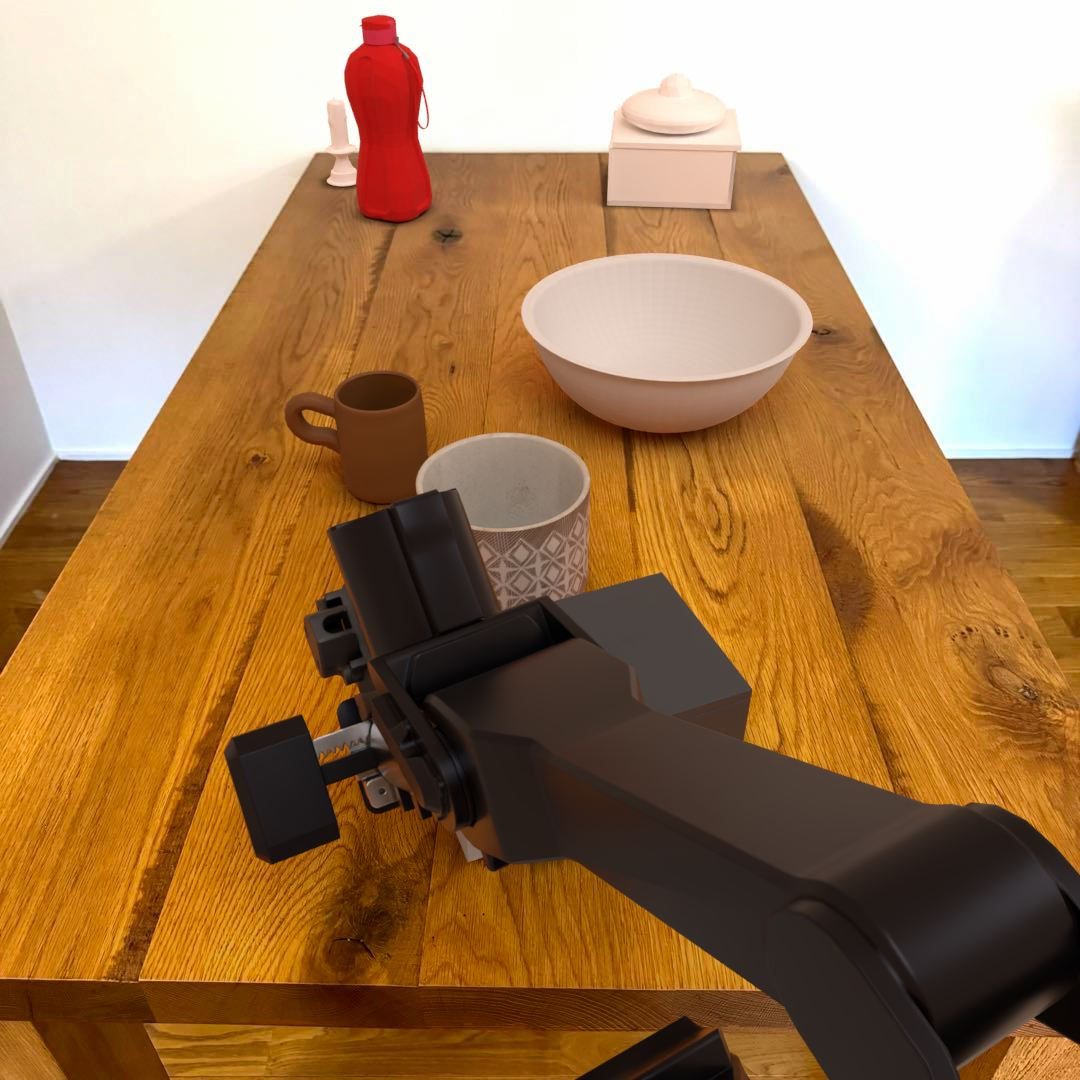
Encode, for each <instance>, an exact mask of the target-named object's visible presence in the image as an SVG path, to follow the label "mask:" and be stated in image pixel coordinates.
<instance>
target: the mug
mask: <svg viewBox="0 0 1080 1080" xmlns="http://www.w3.org/2000/svg"><path fill="white" fill-rule="evenodd" d="M306 410H307V411H312V412H314V413H318V414H321V415H324V416H327V417H330V418H333V419H334V420H335V421H334V422H335V426H336V427H335V428H336V429H335V428H332V427H330V426H317V425H313V424H311V423H310V422H309V421H307V420H306V418H305V416H304V414H303V411H306ZM425 412H426V411H425V404H424V399H423V393H422V389H421V385H420V383H419V382H418V381H417V380H416V379H415V378H414V377H413V376H411V375H409V374H407V373H404V372H401V371H397V370H396V371H395V370H388V369H387V370H385V369H379V370H369V371H364V372H360V373H357V374H354V375H351V376H349V377H347V378H345V379H344V380H342V381H341V382H340V383H338V385H337V386H336V388H335V390H334V391H333V397H331V396H327V395H324V394H321V393H318V392H315V391H305V392H300V393H297V394H294V395H292V396H291V398H290V399H289V400H288V401H287V402H286V403H285V406H284V421H285V424H286V426H287V428H288V429H289V431H290V432H291V433H292V434H293V435H294V436H295V437H296V438H298V439H299V440H300V441H302V442H304V443H306V444H309V445H314V446H320V447H326V448H328V450H330V451H331V450H332V451H333V452H335V453H336V454H338V455H339V456H340V459H341V467H342V472H343V479H344V482H345V485H346V487H347V490H348V491H349V492H350V493H351V495H353V496H354V497H355V498H357V499H359V500H361V501H364V502H367V503H372V504H381V505H382V504H383V505H386V504H387V505H388V504H389V505H390V504H391V503H393V502H396V501H399V500H402V499H405V498H409V497H412V496H415V495H417V494H416V477H417V474H418V472H419V470H420V468H421V466H422V465H423V464H424V462H425V461H426V460H427V459H428V458H429V452H428V451H429V450H428V435H427V424H426V423H427V422H426V413H425Z"/></svg>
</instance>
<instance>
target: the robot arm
mask: <svg viewBox="0 0 1080 1080" xmlns="http://www.w3.org/2000/svg"><path fill="white" fill-rule="evenodd" d="M326 535H327V538H328V541H329V543H330V546H331V549H332V552H333V555H334V557H335V561H336V563H337V566H338V569H339V571H340V574H341V577H342V580H343V585H342V587H341V588H340V589H337V590H333V591H329V592H326V593H323V597H322V598H319V599H315V606H316V609H317V611H315V612H312V613H310V614H306V615H305V616H304V617H303V631H304V636H305V638H306V641H307V644H308V647H309V649H310V652H311V655H312V659H313V661H314V664H315V666H316V669H317V672H318V674H319V676H320V677H321V678H322V679H325V680H326V679H329V678H332V677H334V676H339V677H341V679H342V680H343V683H344V685H345V687H349V686H351V685H354V684H356V685H357V688H358V692H359V693H355V694H353V697H349V698H347V699H345V700H343V701H341V702H340V703H339V705H338V707H337V711H336V716H337V717H336V718H337V723H338V726H339V729H338V730H335V731H333V732H332V731H331V732H329V733H326V734H324V735H321V736H318V737H315V738H312V736H311V732H310V730H309V728H308V725H307V722H306V721H305V718H304V716H303V714H302V713H300V714H296V715H294V716H290V717H287V718H283V719H280V720H278V721H274V722H272V723H269V724H266V725H263V726H260V727H257V728H254V729H251V730H249V731H245V732H242V733H239V734H237V735H233V736H231V737H230V739H229V741H228V742H227V744H226V746H225V748H224V750H223V752H222V753H223V756H224V759H225V763H226V767H227V769H228V772H229V776H230V779H231V783H232V786H233V789H234V792H235V794H236V799H237V801H238V805H239V808H240V811H241V815H242V818H243V821H244V824H245V827H246V831H247V834H248V837H249V841H250V844H251V849H252V850H253V854H254V856H255V858H257V859H258V860H261V861H262V862H265V863H266V864H268V865H271V866H273V865H276V864H279V863H281V862H283V861H286V860H289V859H291V858H294V857H296V856H299V855H301V854H304V853H306V852H310V851H311V850H315V849H317V848H320V847H322V846H325V845H327V844H329V843H333V842H335V841H338V840H340V839H341V832H340V827H339V823H338V818H337V816H336V813H335V809H334V806H333V803H332V800H331V796H330V793H329V790H328V786H331V785H333V784H336V783H339V782H341V781H345V780H346V779H347V780H348V779H349V778H352V777H355V781H356V784H357V786H358V790H359V793H360V796H361V799H362V803H363V806H364V807H365V809H366V810H367V811H368V812H370V814H374V815H382V814H384V813H387V812H390V811H392V810H395V809H397V808H399V810H400V811H401V812H403V813H408V812H410V811H414V810H415V813H416V816H417V818H418V819H419V820H421V821H425V820H427V819H430V818H433V820H434V821H435V823H441V825H442V826H443V827H444V829H445V830H446V831H447V832H449V833H450V834H453V833H456V831H458V830H460V831H461V832H462V833H463V835H464V836H465V838H466V839H467V840H468V841H469V842H470V843H471V844H472V845H473V846H474V847H475V848H476V849H478V850H480V851H481V853H482V856H483V861H484V864H485V866H486V868H487V870H488V871H489V872H491V873H496V872H498V871H500V870H502V869H504V868H506V867H509V866H511V865H512V866H517V865H527V864H535V863H537V864H538V863H545V862H554V861H555V862H556V861H564V860H567V861H572V862H576V863H578V864H579V865H580V866H582V867H584V868H585V869H586V870H587V871H589V872H590V873H592V874H593V875H595V876H596V877H598V879H601V880H602V881H603V882H605V883H606V884H608V885H609V886H611V888H614V889H615V890H616V891H618V892H619V893H620V894H622V895H624V896H625V897H627V898H628V899H630V900H631V901H632V902H633V903H635V904H636V905H638V906H639V907H640V908H642V909H644V910H645V911H647V912H648V913H649V914H651V915H652V916H654V917H655V918H656V919H658V920H659V921H660V922H662V923H663V924H665V925H666V926H668V927H669V928H671V929H672V930H674V931H675V932H676V933H678V934H679V935H681V936H682V937H684V939H686V940H687V941H689V942H690V943H692V944H693V945H695V946H696V947H698V948H699V949H701V950H702V951H703V952H705V953H707V954H708V955H709V956H711V957H712V958H713V959H715V960H716V961H718V962H719V963H721V964H722V965H723V966H725V967H726V968H728V969H729V970H731V971H732V972H733V973H735V974H736V975H738V976H739V977H740V978H742V979H743V980H744V981H746V982H748V983H749V984H751V986H753V987H755V988H756V989H757V990H759V991H761V992H762V993H763V994H765V995H767V996H768V997H769V998H771V999H772V1000H774V1001H775V1002H776V1003H778V1004H779V1005H781V1006H782V1007H783V1008H784V1009H785V1012H786V1013H787V1015H788V1017H789V1018H790V1020H791V1022H792V1024H793V1025H794V1026H793V1027H795V1029H796V1031H797V1033H798V1034H799V1036H800V1037H801V1039H802V1040H803V1042H804V1044H805V1045H806V1046H807V1048H808V1050H809V1051H810V1053H811V1054H812V1056H813V1058H814V1059H815V1060H816V1062H817V1064H818V1065H819V1066H820V1068H821V1070H822V1071H823V1073H824V1075H825V1076H826V1078H827V1079H828V1080H961V1076H960V1073H959V1070H960V1069H962V1068H963V1067H965V1066H967V1065H968V1064H969V1063H971V1062H972V1061H974V1060H976V1059H977V1058H978V1057H979V1056H981V1055H982V1054H984V1053H985V1052H987V1051H988V1050H990V1049H991V1048H992V1047H994V1046H996V1045H997V1044H998V1043H1000V1042H1001V1041H1002V1040H1004V1039H1005V1038H1007V1037H1008V1036H1009V1035H1011V1034H1012V1033H1014V1032H1015V1031H1018V1029H1020V1028H1021V1027H1023V1026H1025V1025H1026V1024H1027V1023H1029V1022H1030V1021H1031V1020H1033V1019H1034V1020H1035V1021H1036V1022H1039V1023H1041V1024H1042V1025H1043V1026H1045V1027H1047V1028H1049V1029H1051V1030H1052V1031H1053V1032H1055V1033H1057V1034H1059V1035H1061V1036H1062V1037H1064V1038H1066V1039H1068V1040H1069V1041H1070V1042H1073V1043H1074V1044H1075V1045H1077V1046H1080V873H1079V872H1078V871H1077V870H1076V868H1075V867H1074V866H1073V865H1072V864H1071V863H1070V862H1069V860H1068V859H1067V858H1066V857H1065V856H1064V855H1063V854H1062V852H1061V851H1060V850H1059V848H1057V846H1055V845H1054V844H1053V843H1052V842H1051V841H1050V840H1048V838H1046V837H1045V835H1043V834H1042V833H1041V832H1040V831H1039V830H1037V828H1035V827H1034V826H1033V825H1032V824H1031V823H1030V822H1029V821H1028V820H1027V819H1026V818H1023V817H1021V816H1019V815H1017V814H1015V813H1014V812H1011V811H1009V810H1007V809H1006V808H1003V807H1001V806H1000V805H998V804H994V803H985V802H984V803H982V802H973V801H970V802H968V803H966V804H965V805H960V804H956V803H942V804H939V803H938V804H936V803H927V802H926V803H925V802H922V801H920V800H917V799H914V798H910V797H908V796H905V795H902V794H899V793H897V792H893V791H891V790H887V789H886V788H885V789H884V788H882V787H878V786H875V785H873V784H870V783H867V782H865V781H861V780H859V779H855V778H853V777H850V776H847V775H844V774H841V773H838V772H836V771H832V770H829V769H826V768H824V767H821V766H818V765H815V764H812V763H810V762H806V761H803V760H801V759H797V758H795V757H792V756H789V755H786V754H783V753H780V752H777V751H775V750H772V749H769V748H766V747H763V746H760V745H757V744H755V743H751V742H748V741H745V740H744V741H743V740H740V739H737V738H734V737H731V736H728V735H725V734H722V733H719V732H717V731H714V730H711V729H708V728H705V727H702V726H699V725H696V724H693V723H690V722H688V721H685V720H682V719H679V718H676V717H673V716H670V715H667V714H664V713H661V712H659V711H656V710H654V709H653V708H651V707H649V706H648V705H646V704H645V702H644V698H643V695H642V691H641V687H640V684H639V680H638V676H637V673H636V669H635V668H634V667H633V666H631V665H629V664H628V663H626V662H624V661H622V660H620V659H619V658H617V657H615V656H613V655H612V654H610V653H608V652H606V651H605V650H604V649H603V648H602V647H601V646H600V645H599V644H598V643H597V642H596V641H595V640H594V639H593V638H592V637H591V636H590V635H588V634H587V633H586V632H585V631H584V630H583V629H582V628H581V627H580V626H579V625H578V624H577V623H576V622H575V621H574V620H573V619H572V618H571V617H570V616H569V615H568V614H566V613H565V612H564V611H563V610H562V609H561V608H560V607H559V606H558V605H557V604H556V603H555V602H554V601H553V600H552V599H551V598H550V597H549V596H548V595H543V596H540V597H538V598H535V599H532V600H530V601H527V602H524V603H522V604H519V605H516V606H513V607H511V608H508V609H505V610H501V607H500V605H499V602H498V599H497V597H496V594H495V591H494V588H493V586H492V583H491V580H490V577H489V575H488V572H487V569H486V566H485V564H484V561H483V558H482V555H481V553H480V550H479V547H478V545H477V542H476V539H475V536H474V534H473V531H472V528H471V525H470V523H469V520H468V517H467V514H466V512H465V509H464V506H463V504H462V501H461V498H460V495H459V493H458V490H457V489H456V488H453V489H450V490H447V491H442V492H439V491H438V490H437V489H434V490H431V491H428V492H425V493H421V494H418V495H417V494H416V495H415V496H412V497H409V498H405V499H402V500H399V501H396V502H393V503H389V505H388V506H386V507H385V508H382V509H380V510H377V511H375V512H371V513H369V514H366V515H363V516H360V517H358V518H355V519H351V520H347V521H344V522H342V523H339V524H335V525H333V526H331V527H329V528H328V529H327V530H326ZM337 748H338V750H339V751H340V752H344V751H345V748H346V752H347V754H344V755H341V756H338V757H335V758H333V759H330V760H328V761H325V762H322V763H320V761H319V760H321V753H322V755H323V756H324V757H325V758H327V757H329V751H330V752H331V753H332V754H333V755H335V754H337ZM574 1080H751V1078H750V1077H749V1076H748V1074H747V1072H746V1070H745V1068H744V1066H743V1064H742V1062H741V1059H740V1057H739V1055H737V1054H735V1053H734V1052H732V1051H730V1048H729V1046H728V1043H727V1041H726V1038H725V1036H724V1033H723V1030H722V1028H721V1025H720V1024H717V1025H715V1026H712V1027H704V1026H702V1025H699V1024H697V1023H695V1022H694V1021H693V1020H692V1019H691V1018H689V1017H688V1016H687V1015H683V1016H681V1017H679V1018H677V1019H676V1020H674V1021H673V1022H671V1023H669V1024H668V1025H666V1026H664V1027H662V1028H660V1029H659V1030H657V1031H655V1032H653V1033H652V1034H650V1035H648V1036H647V1037H645V1038H643V1039H642V1040H640V1041H638V1042H637V1043H634V1044H633V1045H632V1046H629V1047H628V1048H626V1049H624V1050H622V1051H621V1052H619V1053H618V1054H616V1055H614V1056H613V1057H611V1058H609V1059H607V1060H606V1061H604V1062H601V1063H600V1064H599V1065H597V1066H595V1067H594V1068H592V1069H590V1070H589V1071H587V1072H585V1073H583V1074H582V1075H580V1076H578V1077H576V1078H574Z"/></svg>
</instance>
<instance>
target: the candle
mask: <svg viewBox="0 0 1080 1080" xmlns="http://www.w3.org/2000/svg"><path fill="white" fill-rule="evenodd" d="M326 111H327V123H328V126H329V134H330V141H331V144H330V145H328V146H326V147H325V148H324V151H325V152H326V153H327V154H329V155H330V156H333V157H335V162H334V165H333V168H332V169H331V170H330V176H329V177H328V178H327V179H326V183H327V184H328V185H330V186H333V187H341V188H342V187H344V188H345V187H351V186H356V177H357V167H354V166H353V164H352V161H350V158H349V156H351V155H352V154H353V153H355V152H356V151H357V150H358V147H357V145H355V144H351V143H350V139H349V132H348V131H349V130H348V117H347V113H346V105H345V101H344V100H342V99H337V98H334V97H332V99H329V100H327V102H326Z"/></svg>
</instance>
